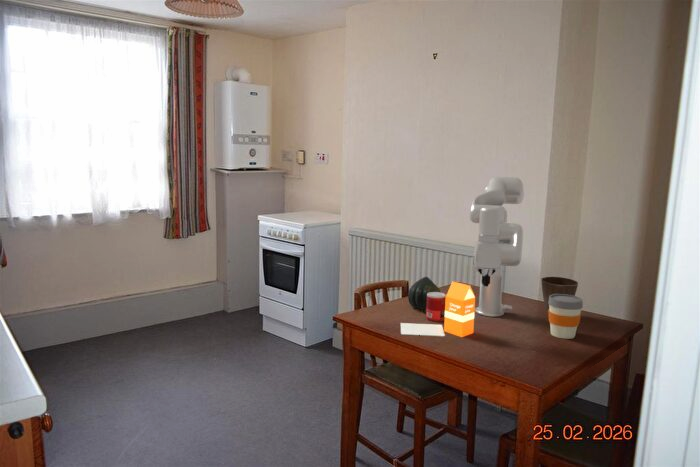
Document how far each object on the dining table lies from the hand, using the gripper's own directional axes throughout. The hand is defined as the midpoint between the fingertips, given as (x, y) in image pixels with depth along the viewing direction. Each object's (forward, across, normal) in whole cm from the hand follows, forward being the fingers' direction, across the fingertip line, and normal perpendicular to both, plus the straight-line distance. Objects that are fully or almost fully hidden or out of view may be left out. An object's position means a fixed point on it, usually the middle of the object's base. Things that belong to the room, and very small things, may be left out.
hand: (485, 285), depth 201 cm
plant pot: (+19, -37, -27) cm, 49 cm away
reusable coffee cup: (+20, -32, -3) cm, 37 cm away
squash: (+19, +21, -31) cm, 42 cm away
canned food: (+20, +17, -16) cm, 31 cm away
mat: (+20, +24, -1) cm, 31 cm away
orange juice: (+20, +9, -1) cm, 22 cm away
